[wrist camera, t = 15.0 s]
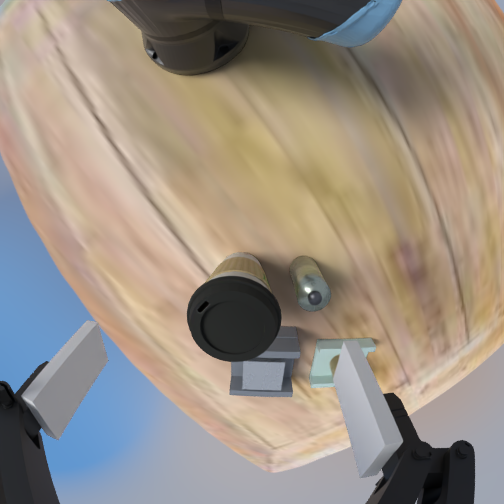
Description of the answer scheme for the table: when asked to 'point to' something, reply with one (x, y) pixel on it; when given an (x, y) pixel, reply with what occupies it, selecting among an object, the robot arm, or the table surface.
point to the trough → (326, 352)
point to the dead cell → (309, 284)
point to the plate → (263, 373)
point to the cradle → (280, 348)
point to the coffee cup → (235, 311)
